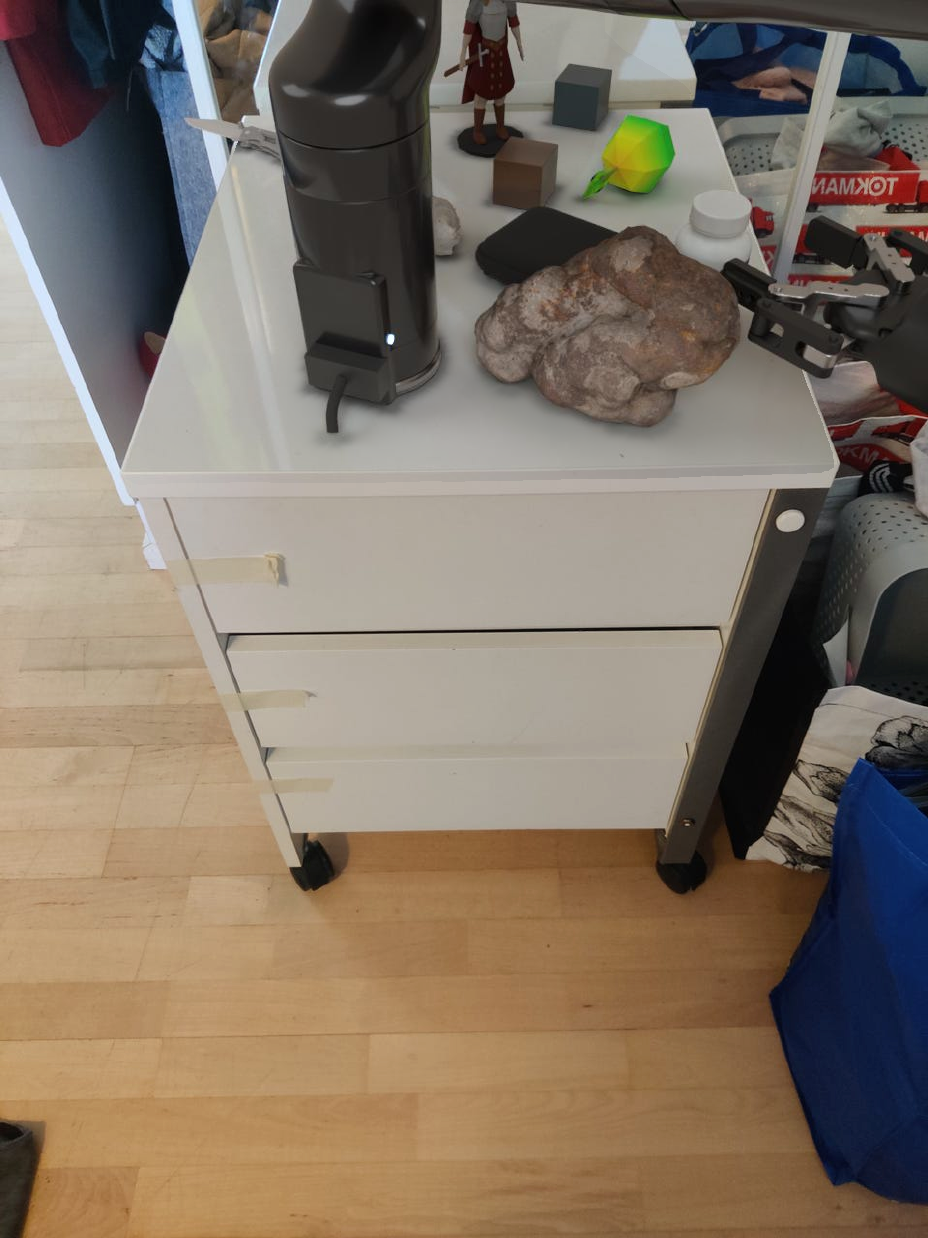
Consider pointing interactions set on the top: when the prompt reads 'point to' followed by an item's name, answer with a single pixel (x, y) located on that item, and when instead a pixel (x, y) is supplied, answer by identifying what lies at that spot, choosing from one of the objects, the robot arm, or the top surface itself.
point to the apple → (635, 156)
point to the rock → (614, 328)
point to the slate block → (581, 96)
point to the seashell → (445, 226)
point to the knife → (239, 134)
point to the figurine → (487, 73)
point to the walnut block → (524, 173)
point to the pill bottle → (717, 229)
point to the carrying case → (536, 243)
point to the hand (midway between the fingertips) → (768, 250)
